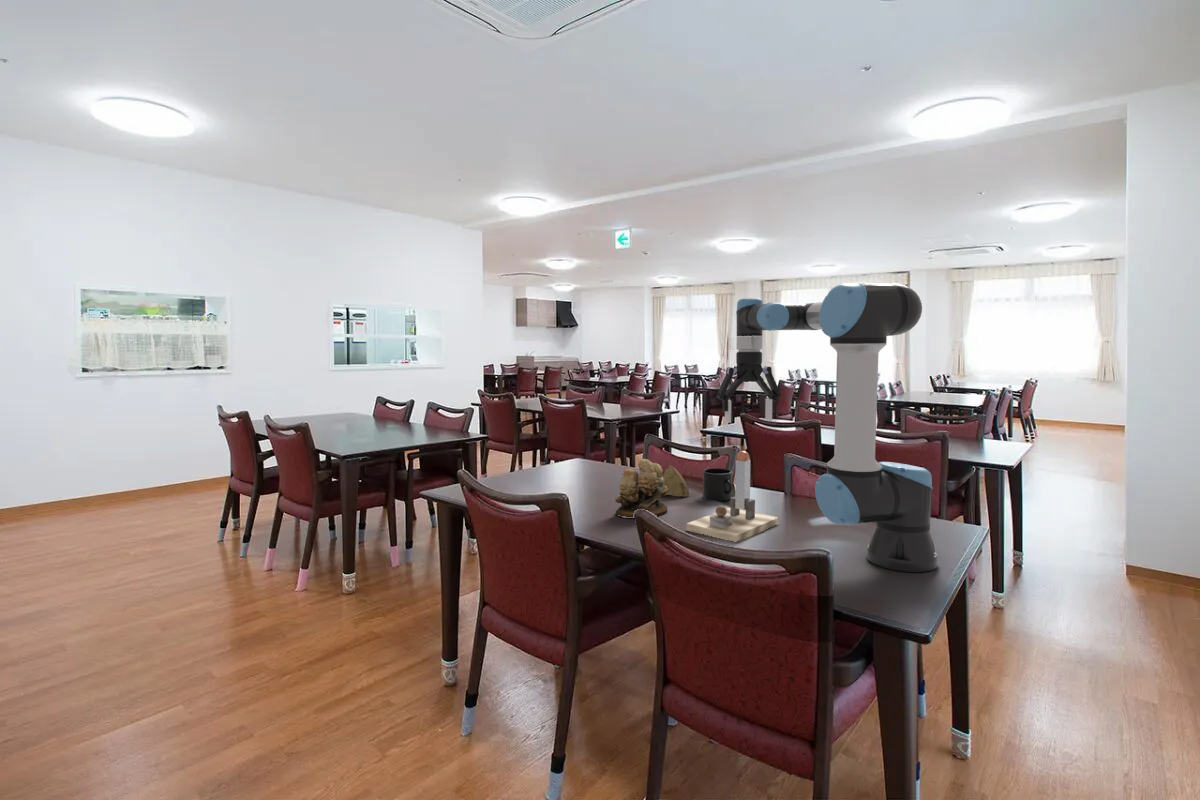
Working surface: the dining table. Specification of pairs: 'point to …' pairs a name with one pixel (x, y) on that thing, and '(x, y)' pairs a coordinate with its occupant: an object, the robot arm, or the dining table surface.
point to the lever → (742, 480)
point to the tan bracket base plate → (733, 522)
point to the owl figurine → (642, 490)
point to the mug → (717, 484)
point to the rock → (675, 483)
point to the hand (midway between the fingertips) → (748, 421)
